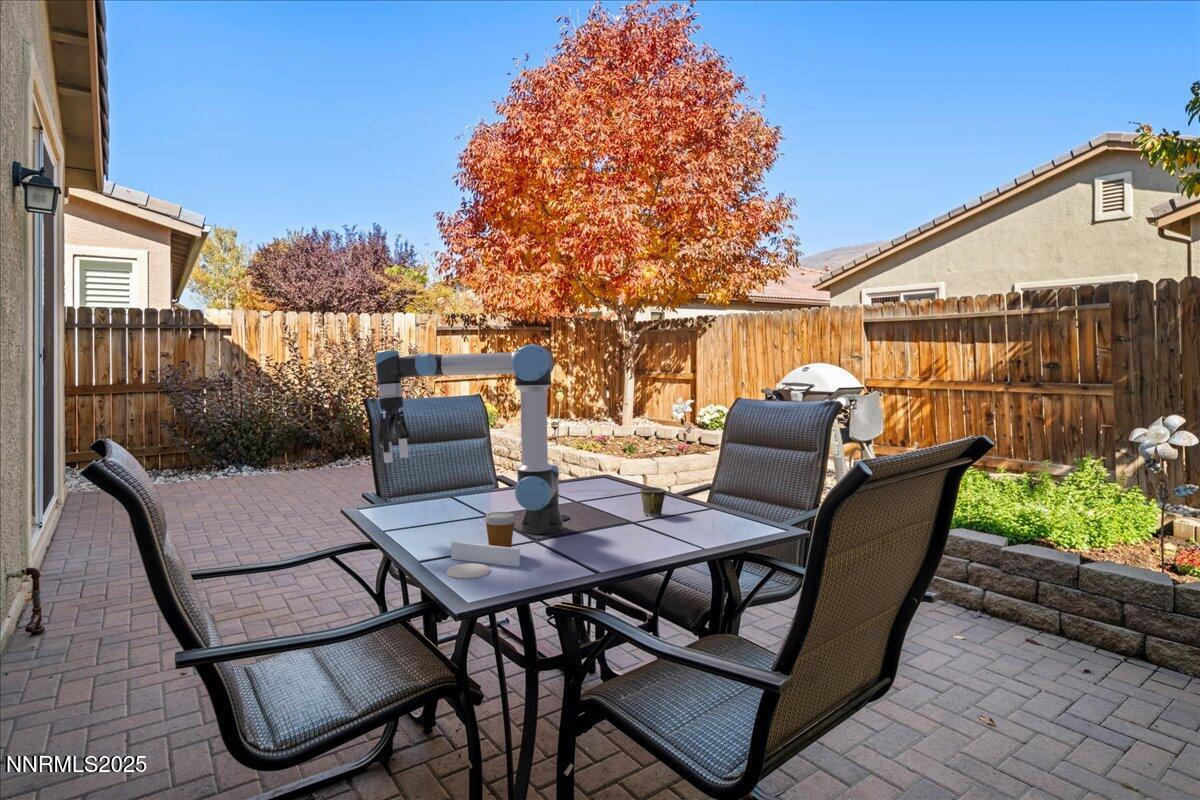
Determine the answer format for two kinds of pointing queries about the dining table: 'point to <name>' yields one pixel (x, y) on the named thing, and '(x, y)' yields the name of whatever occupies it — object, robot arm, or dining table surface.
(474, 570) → the mat
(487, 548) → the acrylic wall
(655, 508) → the ceramic cup
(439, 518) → the dining table surface
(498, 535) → the disposable coffee cup
